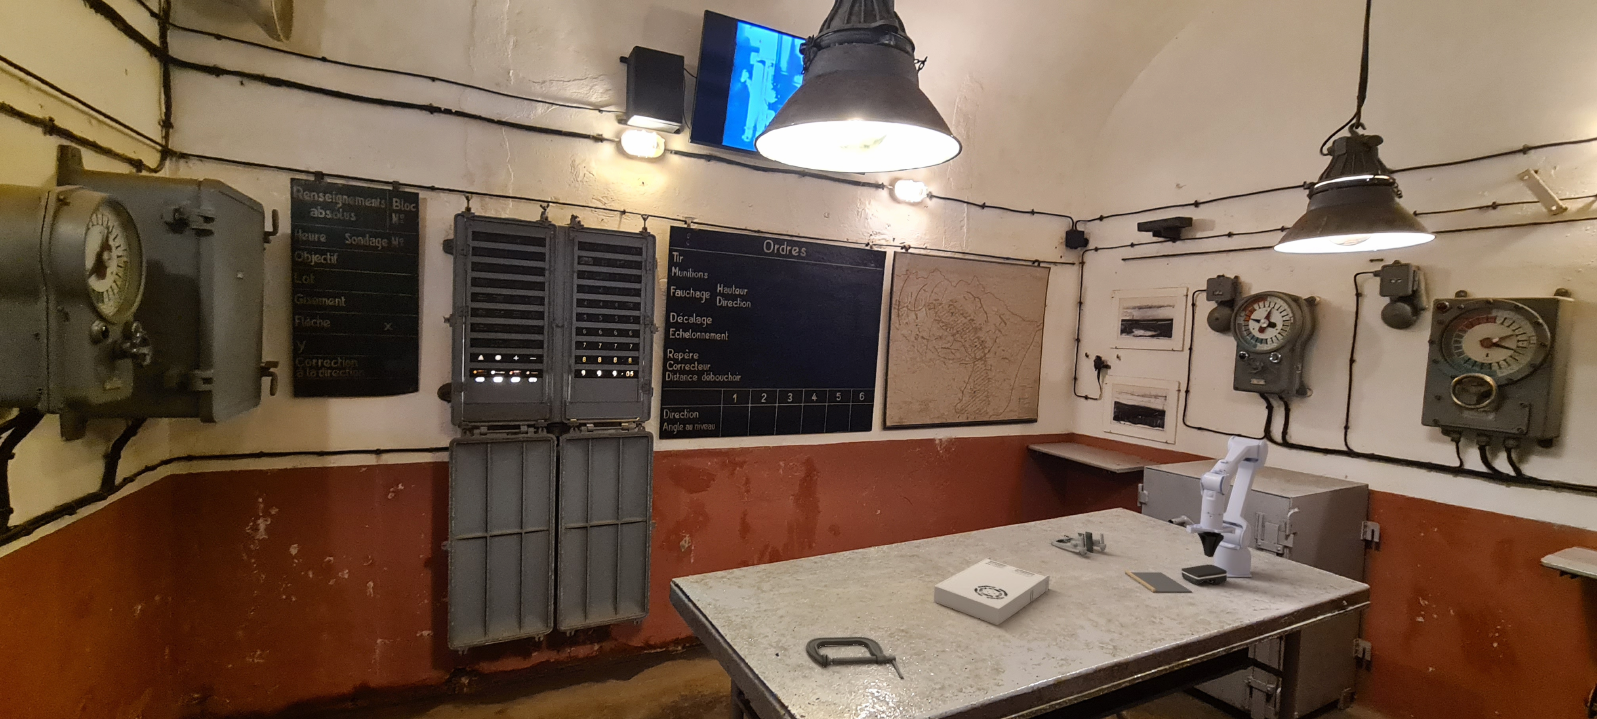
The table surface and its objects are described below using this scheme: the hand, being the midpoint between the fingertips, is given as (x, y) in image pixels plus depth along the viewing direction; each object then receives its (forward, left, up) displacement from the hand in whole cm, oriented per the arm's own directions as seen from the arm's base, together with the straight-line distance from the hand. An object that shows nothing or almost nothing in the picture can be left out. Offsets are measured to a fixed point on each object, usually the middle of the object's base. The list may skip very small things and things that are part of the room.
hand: (1208, 555), depth 198 cm
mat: (+16, 0, -8) cm, 18 cm away
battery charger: (+6, 0, -7) cm, 9 cm away
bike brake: (+27, -30, -9) cm, 41 cm away
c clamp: (+117, +41, -9) cm, 125 cm away
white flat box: (+71, +8, -9) cm, 72 cm away
